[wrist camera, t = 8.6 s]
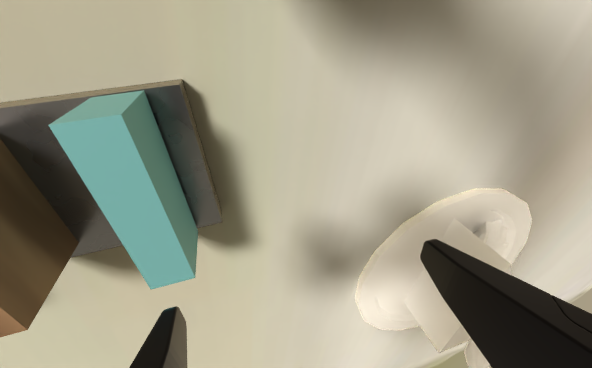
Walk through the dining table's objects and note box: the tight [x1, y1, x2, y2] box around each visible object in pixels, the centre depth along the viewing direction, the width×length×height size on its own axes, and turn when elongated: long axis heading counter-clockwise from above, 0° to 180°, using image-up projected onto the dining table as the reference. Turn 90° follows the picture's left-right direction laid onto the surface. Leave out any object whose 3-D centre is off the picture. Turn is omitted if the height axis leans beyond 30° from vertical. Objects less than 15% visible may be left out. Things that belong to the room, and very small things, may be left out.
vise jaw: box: [48, 90, 198, 289], centre depth 14 cm, size 2×10×4 cm, turn 4°
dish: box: [355, 188, 532, 368], centre depth 31 cm, size 25×25×11 cm
